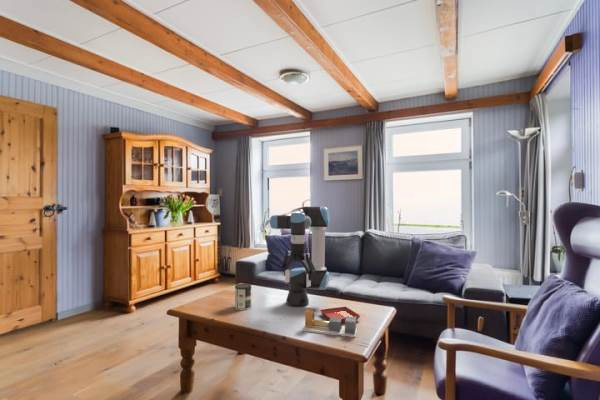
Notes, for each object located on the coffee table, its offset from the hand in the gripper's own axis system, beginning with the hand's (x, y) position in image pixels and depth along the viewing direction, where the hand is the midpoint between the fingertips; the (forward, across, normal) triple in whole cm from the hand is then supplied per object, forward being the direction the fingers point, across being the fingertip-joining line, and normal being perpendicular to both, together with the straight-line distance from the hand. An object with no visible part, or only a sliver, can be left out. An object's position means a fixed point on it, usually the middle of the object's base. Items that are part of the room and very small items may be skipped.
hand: (297, 284), depth 160 cm
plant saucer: (+26, +6, +34) cm, 43 cm away
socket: (+26, +21, +18) cm, 38 cm away
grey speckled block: (+26, +14, +15) cm, 33 cm away
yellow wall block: (+24, +7, +13) cm, 28 cm away
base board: (+26, +11, +14) cm, 31 cm away
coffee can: (+26, -52, +12) cm, 60 cm away
